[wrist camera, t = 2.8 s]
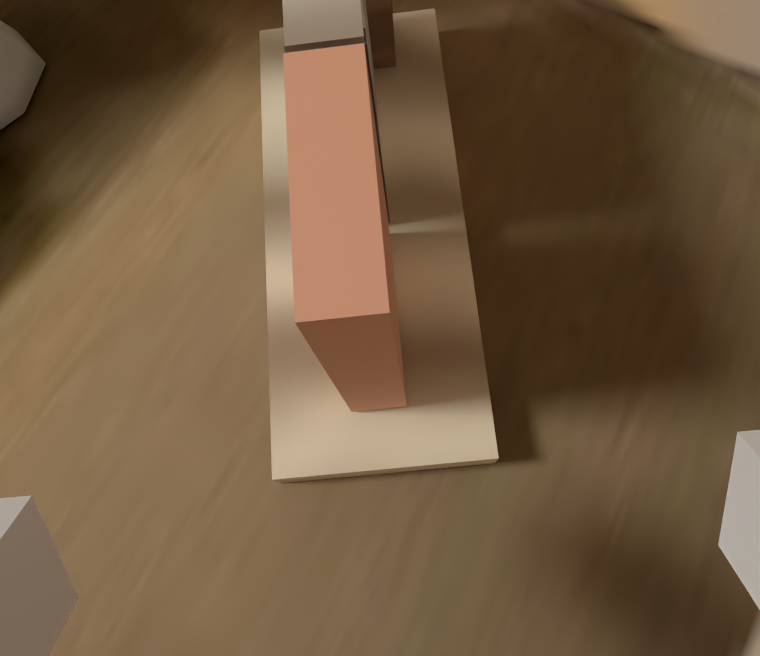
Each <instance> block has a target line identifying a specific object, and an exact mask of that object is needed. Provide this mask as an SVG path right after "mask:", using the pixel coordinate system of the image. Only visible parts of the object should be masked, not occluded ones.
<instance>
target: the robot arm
mask: <svg viewBox="0 0 760 656" xmlns="http://www.w3.org/2000/svg"><path fill="white" fill-rule="evenodd" d="M718 545H719V547H720V549H721V550H722V552H723V553H724V555H725V556H726V558H727V560H728V561H729V563H730V564H731V566H732V567H733V569H734V570H735V572H736V574H737V575H738V577H739V578H740V580H741V581H742V583H743V585H744V586H745V588H746V589H747V591H748V592H749V594H750V595H751V597H752V599H753V600H754V602H755V603H756V605H757V606H758V608H759V610H760V430H754V431H742V432H737V438H736V444H735V450H734V456H733V462H732V467H731V473H730V479H729V485H728V491H727V497H726V503H725V509H724V514H723V520H722V526H721V532H720V538H719V544H718ZM78 598H79V597H78V595H77V593H76V591H75V589H74V587H73V584H72V582H71V580H70V578H69V576H68V573H67V571H66V569H65V567H64V565H63V563H62V560H61V558H60V556H59V554H58V552H57V549H56V547H55V545H54V543H53V541H52V539H51V536H50V534H49V532H48V530H47V528H46V525H45V523H44V521H43V519H42V517H41V514H40V512H39V510H38V508H37V506H36V504H35V501H34V499H33V497H32V496H22V497H11V498H0V656H49V654H50V652H51V650H52V648H53V646H54V644H55V642H56V640H57V638H58V636H59V634H60V632H61V631H62V629H63V627H64V625H65V623H66V621H67V619H68V617H69V615H70V613H71V611H72V609H73V607H74V605H75V603H76V601H77V599H78Z"/></svg>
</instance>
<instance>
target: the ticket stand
mask: <svg viewBox="0 0 760 656" xmlns="http://www.w3.org/2000/svg"><path fill="white" fill-rule="evenodd" d="M282 5H283V28H276V29H268V30H260V31H259V40H260V75H261V109H262V144H263V179H264V213H265V248H266V283H267V317H268V352H269V387H270V421H271V456H272V480H274V481H277V482H280V483H288V482H299V481H310V480H320V479H331V478H342V477H352V476H363V475H374V474H384V473H395V472H406V471H417V470H427V469H438V468H449V467H459V466H470V465H481V464H491V463H495V462H496V461H497V460H498V459H499V457H498V450H497V442H496V435H495V428H494V421H493V414H492V407H491V400H490V393H489V386H488V379H487V372H486V365H485V358H484V351H483V344H482V337H481V330H480V323H479V316H478V309H477V302H476V295H475V288H474V281H473V274H472V267H471V260H470V252H469V245H468V238H467V231H466V224H465V217H464V210H463V203H462V196H461V189H460V182H459V175H458V168H457V161H456V154H455V147H454V140H453V133H452V126H451V119H450V112H449V105H448V98H447V91H446V84H445V77H444V70H443V63H442V55H441V48H440V41H439V34H438V27H437V20H436V13H435V8H434V9H426V10H418V11H410V12H402V13H394V14H393V13H392V0H282ZM362 43H364V45H365V53H366V60H367V67H368V75H369V82H370V90H371V97H372V105H373V112H374V119H375V127H376V134H377V142H378V149H379V157H380V164H381V171H382V179H383V186H384V194H385V201H386V208H387V216H388V223H389V231H390V241H391V251H392V261H393V271H394V281H395V291H396V301H397V311H398V322H399V332H400V342H401V352H402V362H403V372H404V382H405V392H406V402H407V406H406V407H396V408H386V409H375V410H365V411H355V412H351V410H350V409H349V407H348V406H347V404H346V402H345V401H344V399H343V398H342V396H341V395H340V393H339V391H338V390H337V388H336V387H335V385H334V384H333V382H332V380H331V379H330V377H329V376H328V374H327V373H326V371H325V369H324V368H323V366H322V365H321V363H320V362H319V360H318V358H317V357H316V355H315V354H314V352H313V351H312V349H311V347H310V346H309V344H308V343H307V341H306V339H305V338H304V336H303V335H302V333H301V332H300V330H299V328H298V327H297V325H296V324H295V316H294V293H293V270H292V247H291V224H290V201H289V178H288V154H287V131H286V108H285V85H284V62H283V53H290V52H298V51H306V50H314V49H322V48H330V47H338V46H346V45H354V44H362Z"/></svg>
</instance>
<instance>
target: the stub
mask: <svg viewBox="0 0 760 656" xmlns="http://www.w3.org/2000/svg"><path fill="white" fill-rule="evenodd" d="M283 62H284V85H285V108H286V131H287V154H288V178H289V201H290V224H291V247H292V270H293V293H294V316H295V324H296V325H297V327H298V328H299V330H300V332H301V333H302V335H303V336H304V338H305V339H306V341H307V343H308V344H309V346H310V347H311V349H312V351H313V352H314V354H315V355H316V357H317V358H318V360H319V362H320V363H321V365H322V366H323V368H324V369H325V371H326V373H327V374H328V376H329V377H330V379H331V380H332V382H333V384H334V385H335V387H336V388H337V390H338V391H339V393H340V395H341V396H342V398H343V399H344V401H345V402H346V404H347V406H348V407H349V409H350V410H351V412H355V411H365V410H375V409H386V408H396V407H406V406H407V402H406V392H405V382H404V372H403V362H402V352H401V342H400V332H399V322H398V311H397V301H396V291H395V281H394V271H393V261H392V251H391V241H390V231H389V223H388V216H387V208H386V201H385V194H384V186H383V179H382V171H381V164H380V157H379V149H378V142H377V134H376V127H375V119H374V112H373V105H372V97H371V90H370V82H369V75H368V67H367V60H366V53H365V45H364V43H362V44H354V45H346V46H338V47H330V48H322V49H314V50H306V51H298V52H290V53H283Z"/></svg>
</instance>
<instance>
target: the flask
mask: <svg viewBox="0 0 760 656" xmlns="http://www.w3.org/2000/svg"><path fill="white" fill-rule="evenodd" d="M45 65H46V63H45V62H44V61H43V60H42V58H41V57H40V56H39V55H38V54H37V53H36V52H35V51H34V50H33V48H32V47H31V46H30V45H29V44H28V43H27V42H26V41H25V39H24V38H23V37H22V36H21V35H20V34H19V33H18V32H17V30H15V29H13V28H12V27H10V26H9V25H7V24H5V23H4V22H2V21H1V20H0V130H1V129H2V128H4V127H5V126H6V125H8V124H9V123H11V122H12V121H13V120H15V119H16V118H18V117H19V116H20V115H22V114H23V113H25V110H26V108H27V106H28V104H29V101H30V99H31V97H32V94H33V92H34V90H35V88H36V85H37V83H38V81H39V78H40V76H41V74H42V72H43V69H44V67H45Z"/></svg>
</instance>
